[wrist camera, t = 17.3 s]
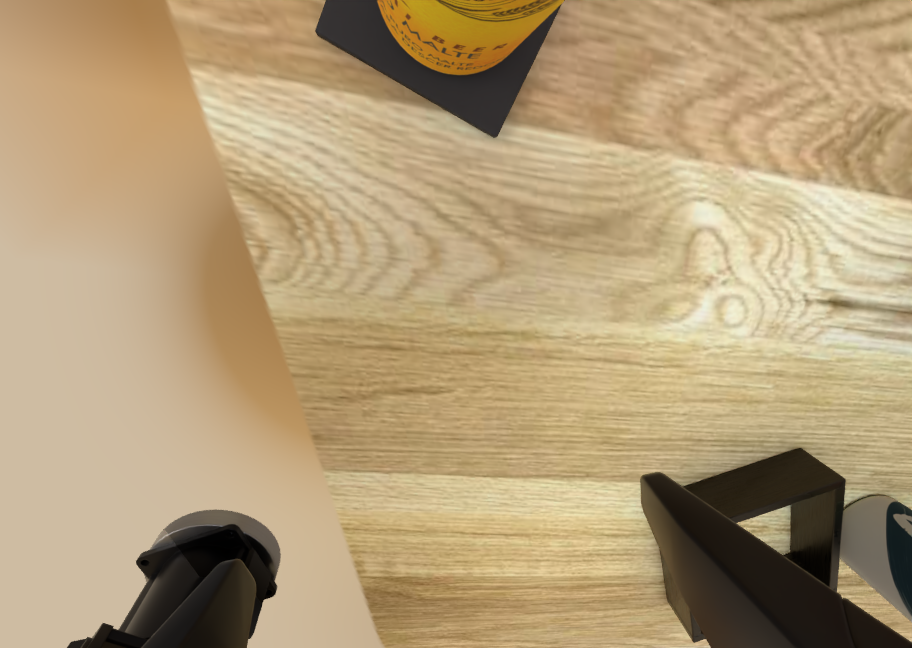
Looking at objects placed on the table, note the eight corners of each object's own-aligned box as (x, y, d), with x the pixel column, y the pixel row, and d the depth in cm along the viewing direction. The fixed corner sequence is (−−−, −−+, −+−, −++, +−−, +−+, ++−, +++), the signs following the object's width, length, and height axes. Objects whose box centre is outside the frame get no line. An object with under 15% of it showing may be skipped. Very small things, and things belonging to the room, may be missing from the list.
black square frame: (667, 600, 31) (693, 643, 28) (652, 496, 27) (681, 534, 25) (797, 556, 31) (837, 594, 29) (800, 447, 28) (846, 478, 25)
